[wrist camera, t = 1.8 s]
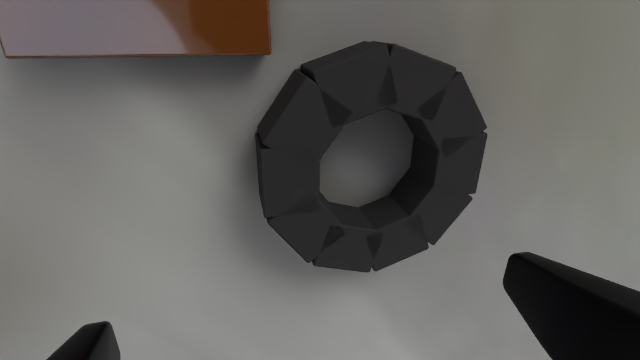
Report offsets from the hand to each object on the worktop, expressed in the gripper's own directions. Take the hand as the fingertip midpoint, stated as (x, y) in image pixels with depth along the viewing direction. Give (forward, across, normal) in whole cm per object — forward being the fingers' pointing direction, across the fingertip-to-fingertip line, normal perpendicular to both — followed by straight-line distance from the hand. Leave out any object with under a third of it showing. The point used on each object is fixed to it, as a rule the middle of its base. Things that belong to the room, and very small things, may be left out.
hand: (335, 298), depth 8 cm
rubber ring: (+8, -4, 0) cm, 9 cm away
